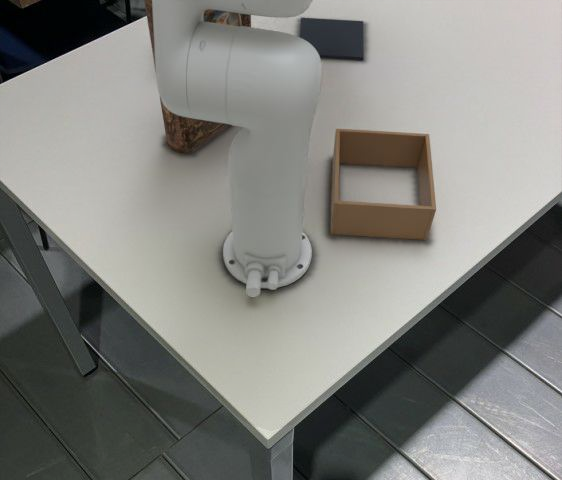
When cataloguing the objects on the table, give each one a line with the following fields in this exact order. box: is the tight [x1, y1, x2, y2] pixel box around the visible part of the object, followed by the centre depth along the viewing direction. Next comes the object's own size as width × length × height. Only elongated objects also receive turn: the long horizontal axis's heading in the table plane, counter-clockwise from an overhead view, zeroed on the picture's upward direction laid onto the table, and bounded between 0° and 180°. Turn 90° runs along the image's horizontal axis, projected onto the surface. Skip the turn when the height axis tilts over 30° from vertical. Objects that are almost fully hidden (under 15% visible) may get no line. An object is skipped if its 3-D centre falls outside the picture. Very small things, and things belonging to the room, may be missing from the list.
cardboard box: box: [329, 128, 437, 241], centre depth 93 cm, size 16×14×6 cm
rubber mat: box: [299, 17, 365, 61], centre depth 117 cm, size 12×12×1 cm
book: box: [143, 0, 252, 155], centre depth 93 cm, size 16×6×25 cm, turn 141°
